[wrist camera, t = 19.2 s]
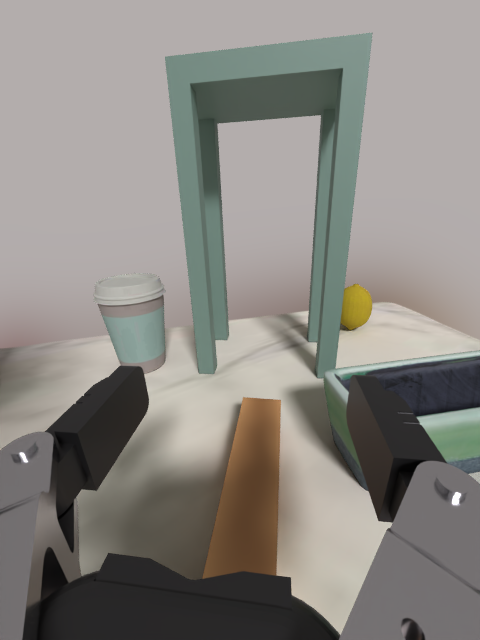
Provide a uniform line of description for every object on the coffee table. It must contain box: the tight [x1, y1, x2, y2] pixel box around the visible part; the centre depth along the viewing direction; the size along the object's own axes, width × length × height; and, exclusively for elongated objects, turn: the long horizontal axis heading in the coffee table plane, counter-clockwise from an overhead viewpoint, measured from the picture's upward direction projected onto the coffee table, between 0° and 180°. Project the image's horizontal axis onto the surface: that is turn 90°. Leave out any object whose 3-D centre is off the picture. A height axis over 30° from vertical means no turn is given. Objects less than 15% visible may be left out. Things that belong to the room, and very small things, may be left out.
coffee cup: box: [93, 273, 165, 373], centre depth 36 cm, size 8×8×12 cm
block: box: [202, 397, 281, 579], centre depth 17 cm, size 4×20×4 cm, turn 171°
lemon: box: [340, 284, 372, 330], centre depth 45 cm, size 6×6×8 cm
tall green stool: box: [165, 33, 372, 378], centre depth 34 cm, size 17×12×32 cm
